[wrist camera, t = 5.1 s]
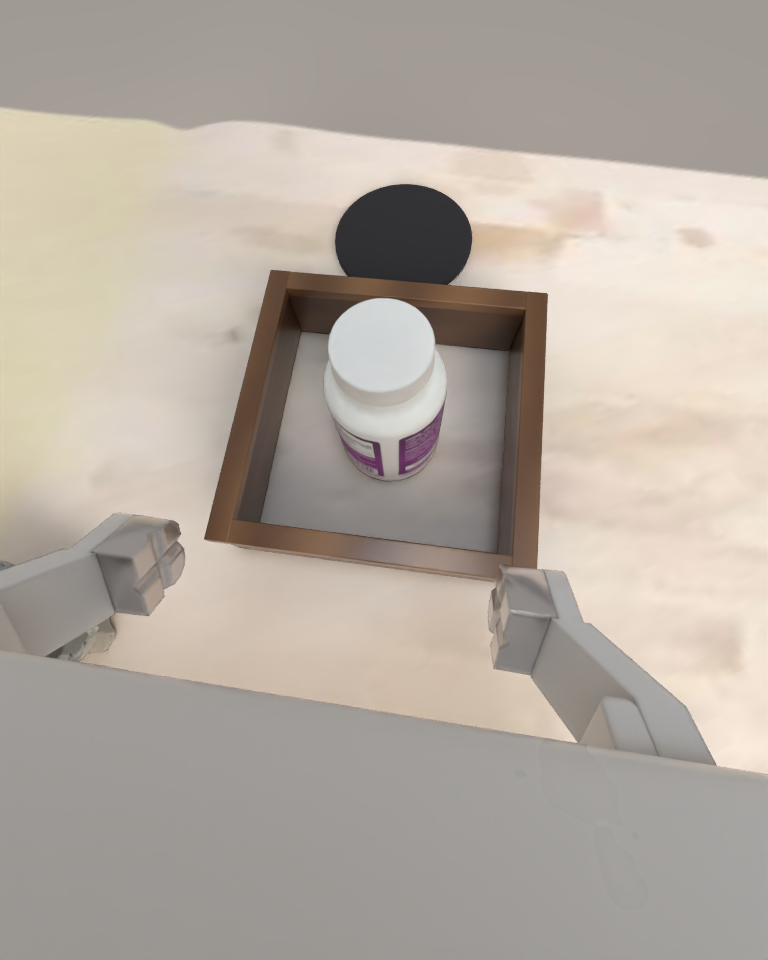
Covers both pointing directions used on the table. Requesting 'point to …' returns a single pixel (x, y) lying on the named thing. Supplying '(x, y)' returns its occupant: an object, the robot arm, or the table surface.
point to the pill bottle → (385, 387)
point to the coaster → (404, 236)
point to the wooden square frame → (454, 322)
